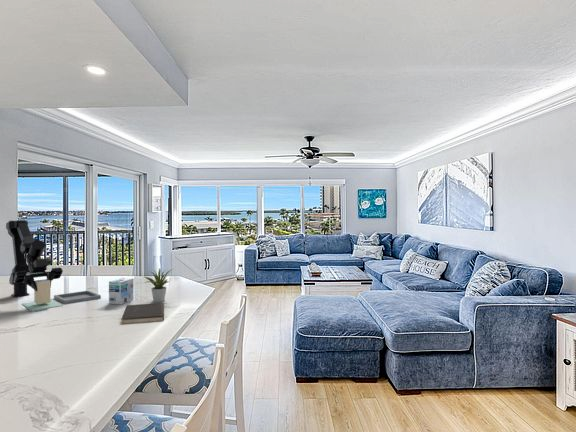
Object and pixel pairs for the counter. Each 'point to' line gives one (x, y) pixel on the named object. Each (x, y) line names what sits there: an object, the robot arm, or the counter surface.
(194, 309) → the counter surface
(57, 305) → the mat
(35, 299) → the carton
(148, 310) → the hardcover book
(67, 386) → the counter surface
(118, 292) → the light bulb box
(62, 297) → the parts tray
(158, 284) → the house plant
